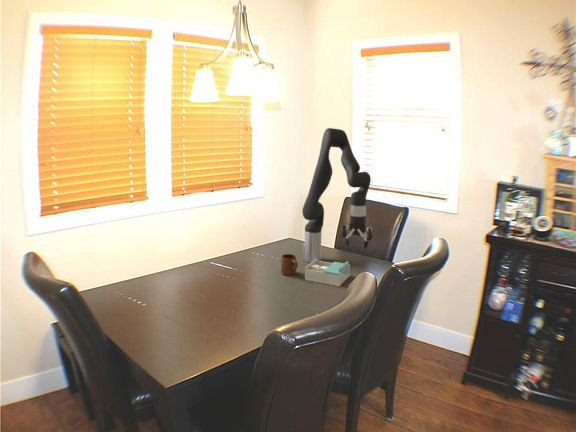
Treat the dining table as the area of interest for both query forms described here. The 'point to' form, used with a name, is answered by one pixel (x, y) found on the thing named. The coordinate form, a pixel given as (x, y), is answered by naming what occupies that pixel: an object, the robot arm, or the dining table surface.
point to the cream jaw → (322, 268)
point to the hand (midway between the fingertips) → (356, 247)
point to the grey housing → (324, 274)
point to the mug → (288, 264)
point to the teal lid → (337, 268)
